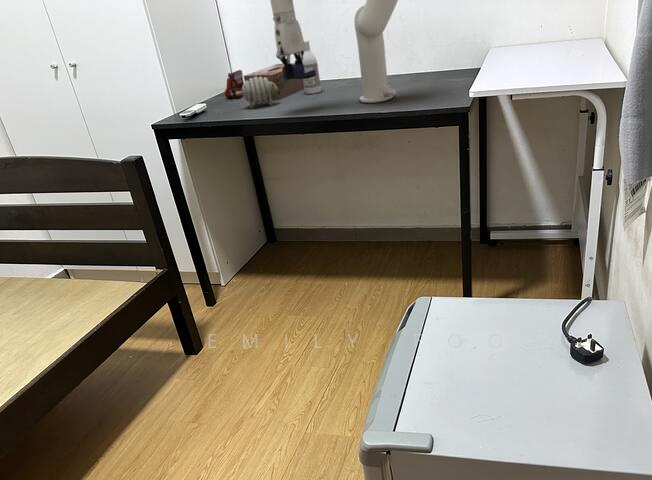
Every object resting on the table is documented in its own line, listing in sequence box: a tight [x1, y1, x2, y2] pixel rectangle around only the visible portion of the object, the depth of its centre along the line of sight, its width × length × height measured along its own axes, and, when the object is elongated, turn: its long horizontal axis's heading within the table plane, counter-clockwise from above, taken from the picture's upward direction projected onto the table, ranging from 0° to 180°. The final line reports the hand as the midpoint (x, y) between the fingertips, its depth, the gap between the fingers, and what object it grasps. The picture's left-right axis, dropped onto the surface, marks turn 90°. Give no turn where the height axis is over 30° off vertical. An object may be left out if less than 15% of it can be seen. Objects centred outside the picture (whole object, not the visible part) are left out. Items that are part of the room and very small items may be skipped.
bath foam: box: [302, 40, 322, 95], centre depth 230 cm, size 7×7×20 cm
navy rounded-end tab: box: [282, 64, 316, 79], centre depth 200 cm, size 12×5×4 cm, turn 55°
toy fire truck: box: [224, 69, 245, 99], centre depth 244 cm, size 7×12×10 cm, turn 158°
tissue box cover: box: [243, 62, 305, 101], centre depth 240 cm, size 26×14×10 cm, turn 155°
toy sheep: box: [235, 77, 278, 109], centre depth 221 cm, size 11×17×11 cm, turn 106°
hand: (295, 73), depth 201 cm, fingers closed on navy rounded-end tab, 5 cm apart
